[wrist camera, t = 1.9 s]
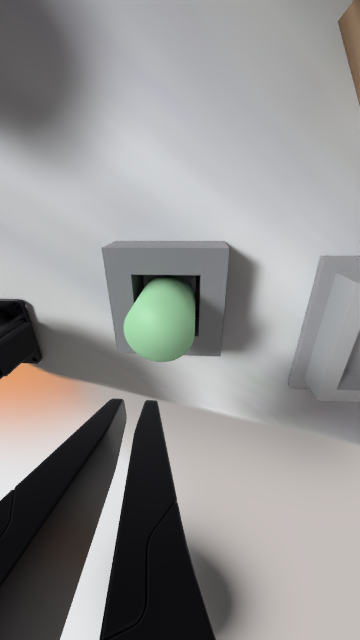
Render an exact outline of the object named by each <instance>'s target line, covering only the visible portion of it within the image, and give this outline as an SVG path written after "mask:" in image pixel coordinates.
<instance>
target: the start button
mask: <svg viewBox="0 0 360 640" xmlns="http://www.w3.org/2000/svg"><path fill="white" fill-rule="evenodd" d="M124 335H125V338H126V341H127V342H128V344H129V346H130V347H131V348H132V349H133V350H134V351H135V352H136V353H137V354H139V355H140V356H142V357H144V358H146V359H149V360H152V361H158V362H166V361H172V360H175V359H177V358H179V357H181V356H183V355H184V354H185V353H186V352H187V351H188V350H189V349H190V347H191V346H192V343H193V341H194V335H195V295H194V292H193V290H192V289H191V287H190V286H189V285H188V284H187V283H186V282H185V281H184V280H182V279H180V278H178V277H176V276H171V275H163V276H159V277H156V278H154V279H152V280H151V281H150V282H149V283H148V284H147V285H146V286H145V288H144V289H143V291H142V292H141V294H140V295H139V297H138V298H137V300H136V302H135V303H134V305H133V306H132V308H131V309H130V311H129V313H128V314H127V316H126V318H125V321H124Z"/></svg>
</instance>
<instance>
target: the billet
mask: <svg viewBox="0 0 360 640" xmlns="http://www.w3.org/2000/svg"><path fill="white" fill-rule="evenodd" d="M338 23H339V27H340V31H341V35H342V39H343V43H344V46H345V50H346V54H347V58H348V62H349V66H350V70H351V73H352V77H353V81H354V85H355V89H356V93H357V97H358V100H359V104H360V0H354V1H353V2H352V4H351V5H350V6H349V8H348V9H347V10H346V12H345V13H344V14H343V15H342V17H341V18H340V19H339V21H338Z"/></svg>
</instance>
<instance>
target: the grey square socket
mask: <svg viewBox="0 0 360 640" xmlns="http://www.w3.org/2000/svg"><path fill="white" fill-rule="evenodd" d="M288 385H289V387H290V388H302V389H310V390H311V392H312V393H313V395H314V397H315V398H316V400H318V401H341V402H360V256H321V257H320V261H319V265H318V268H317V272H316V276H315V280H314V284H313V288H312V292H311V296H310V299H309V303H308V307H307V311H306V315H305V319H304V323H303V326H302V330H301V334H300V338H299V342H298V346H297V350H296V354H295V357H294V361H293V365H292V369H291V373H290V377H289V381H288Z"/></svg>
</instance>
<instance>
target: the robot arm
mask: <svg viewBox="0 0 360 640" xmlns="http://www.w3.org/2000/svg"><path fill="white" fill-rule="evenodd" d="M16 304H17V305H18V306H19V307H18V306H17V305H16ZM36 358H37V359H36ZM41 360H42V355H41V352H40V349H39V346H38V343H37V340H36V337H35V334H34V331H33V328H32V325H31V322H30V319H29V316H28V313H27V310H26V307H25V304H24V302H23V301H21V300H19V299H0V379H1V378H2V377H3V376H7V375H8V374H10V373H11V372H12V371H13V370H14V369H15V368H16V367H17V366H18V365H20V364H21V363H39V362H40V361H41ZM125 424H126V410H125V404H124V400H123V399H111V400H109V401H108V402H107V403H106V404H105V405H104V406H103V407H102V408H101V409H100V410H99V411H98V412H96V413H95V414H94V415H93V416H92V417H91V418H90V419H89V420H88V421H87V422H85V423H84V424H83V425H82V426H81V427H80V428H79V429H78V430H77V431H76V432H75V433H74V434H73V435H71V436H70V437H69V438H68V439H67V440H66V441H65V442H64V443H63V444H62V445H60V446H59V447H58V448H57V449H56V450H55V451H54V452H53V453H52V454H51V455H50V456H49V457H48V458H46V459H45V460H44V461H43V462H42V463H41V464H40V465H39V466H38V467H37V468H36V469H34V470H33V471H32V472H31V473H30V474H29V475H28V476H27V477H26V478H25V479H24V480H23V481H21V483H19V484H18V485H17V486H16V487H15V489H14V490H11V491H10V492H9V493H8V494H7V495H6V496H5V497H4V498H3V499H2V500H1V501H0V640H60V637H61V634H62V631H63V628H64V625H65V622H66V619H67V615H68V613H69V609H70V607H71V603H72V601H73V597H74V594H75V591H76V588H77V585H78V582H79V579H80V576H81V573H82V570H83V567H84V564H85V561H86V558H87V555H88V552H89V549H90V546H91V543H92V540H93V537H94V534H95V530H96V528H97V524H98V521H99V518H100V515H101V512H102V509H103V506H104V503H105V500H106V497H107V494H108V491H109V488H110V485H111V482H112V479H113V476H114V472H115V469H116V465H117V461H118V456H119V452H120V447H121V443H122V438H123V433H124V429H125ZM100 640H216V638H215V635H214V631H213V628H212V625H211V622H210V619H209V616H208V612H207V609H206V606H205V603H204V600H203V597H202V594H201V590H200V587H199V584H198V581H197V578H196V575H195V571H194V568H193V564H192V561H191V557H190V554H189V550H188V547H187V543H186V539H185V534H184V530H183V526H182V521H181V517H180V512H179V507H178V503H177V497H176V492H175V487H174V482H173V478H172V472H171V467H170V462H169V458H168V453H167V447H166V442H165V438H164V432H163V427H162V422H161V418H160V413H159V407H158V403H157V401H154V400H146V401H145V403H144V406H143V409H142V412H141V415H140V418H139V420H138V423H137V426H136V429H135V433H134V438H133V444H132V450H131V456H130V462H129V468H128V474H127V480H126V486H125V491H124V497H123V503H122V509H121V515H120V521H119V527H118V533H117V539H116V545H115V551H114V557H113V563H112V569H111V575H110V580H109V586H108V592H107V598H106V604H105V611H104V616H103V622H102V628H101V634H100Z"/></svg>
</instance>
